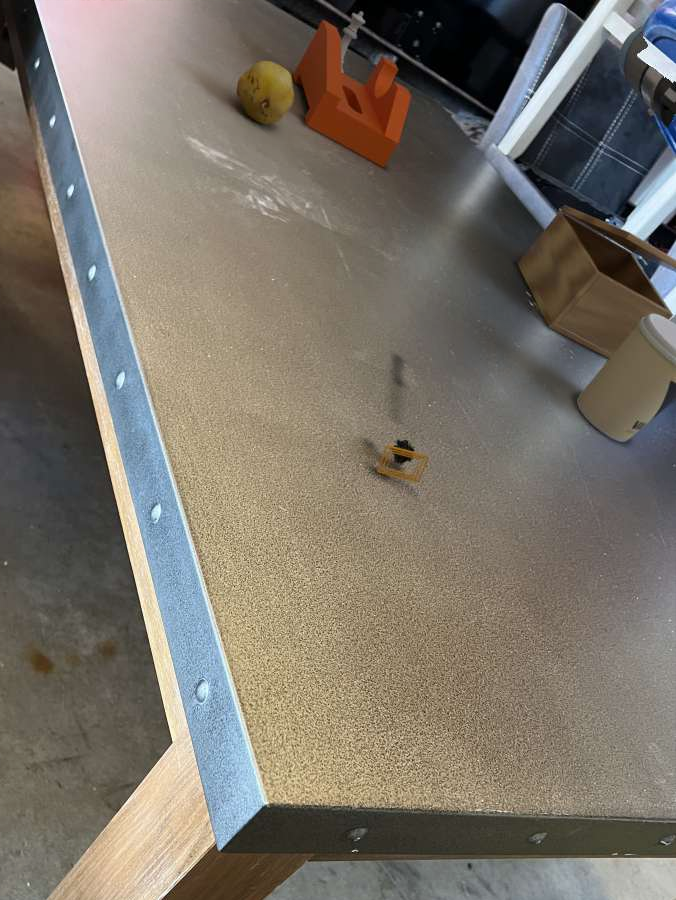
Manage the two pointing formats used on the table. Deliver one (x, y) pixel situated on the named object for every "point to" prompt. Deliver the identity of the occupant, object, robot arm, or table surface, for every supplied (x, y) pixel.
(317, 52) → the tape dispenser
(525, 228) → the table surface
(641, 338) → the coffee cup
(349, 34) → the chess piece
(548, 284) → the chest
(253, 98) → the fruit
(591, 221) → the lid
